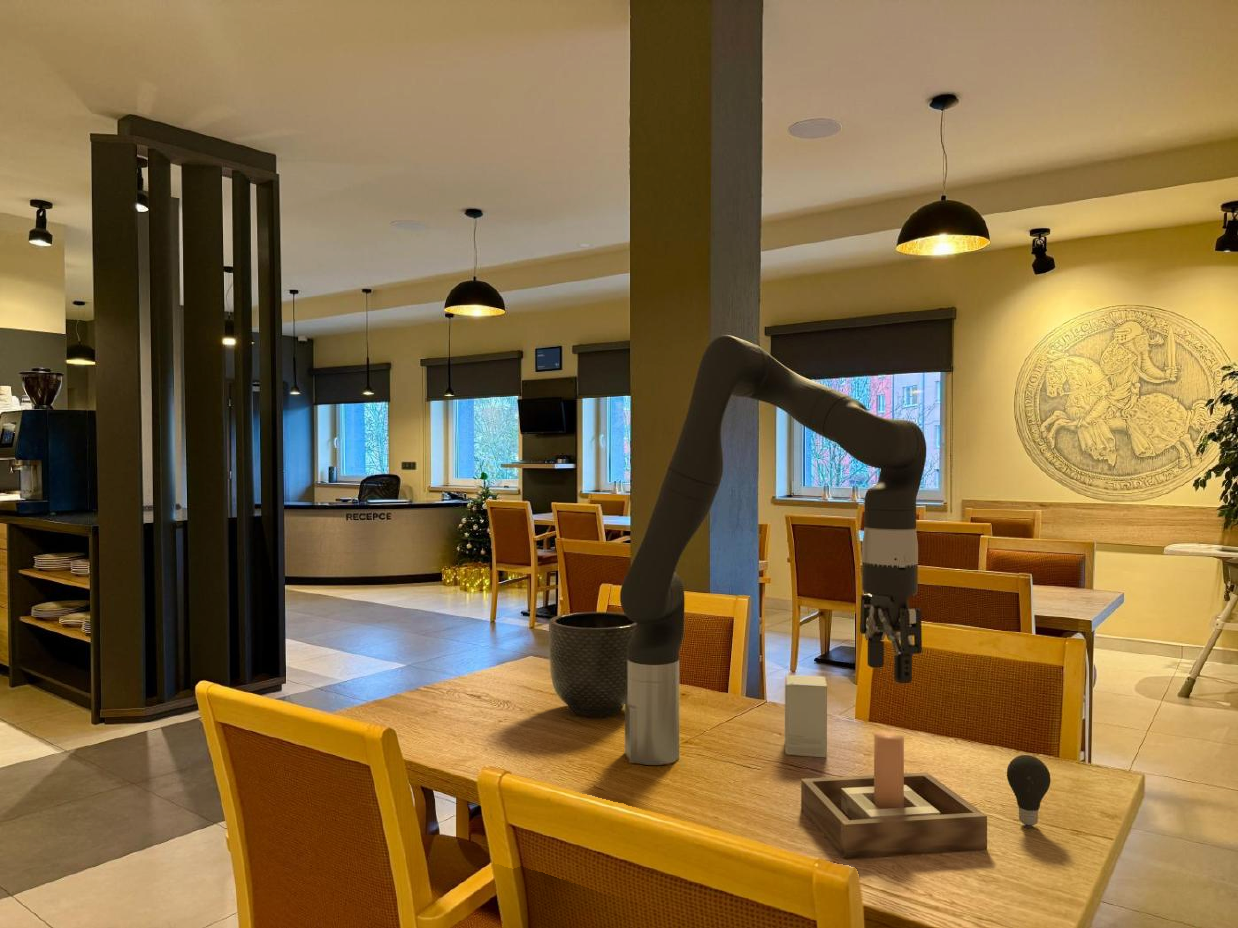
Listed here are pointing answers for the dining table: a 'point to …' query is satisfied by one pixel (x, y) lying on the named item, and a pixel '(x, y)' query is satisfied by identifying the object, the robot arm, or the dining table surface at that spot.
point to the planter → (590, 661)
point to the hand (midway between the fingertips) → (888, 674)
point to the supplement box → (806, 716)
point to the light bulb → (1028, 786)
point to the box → (892, 817)
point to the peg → (888, 770)
